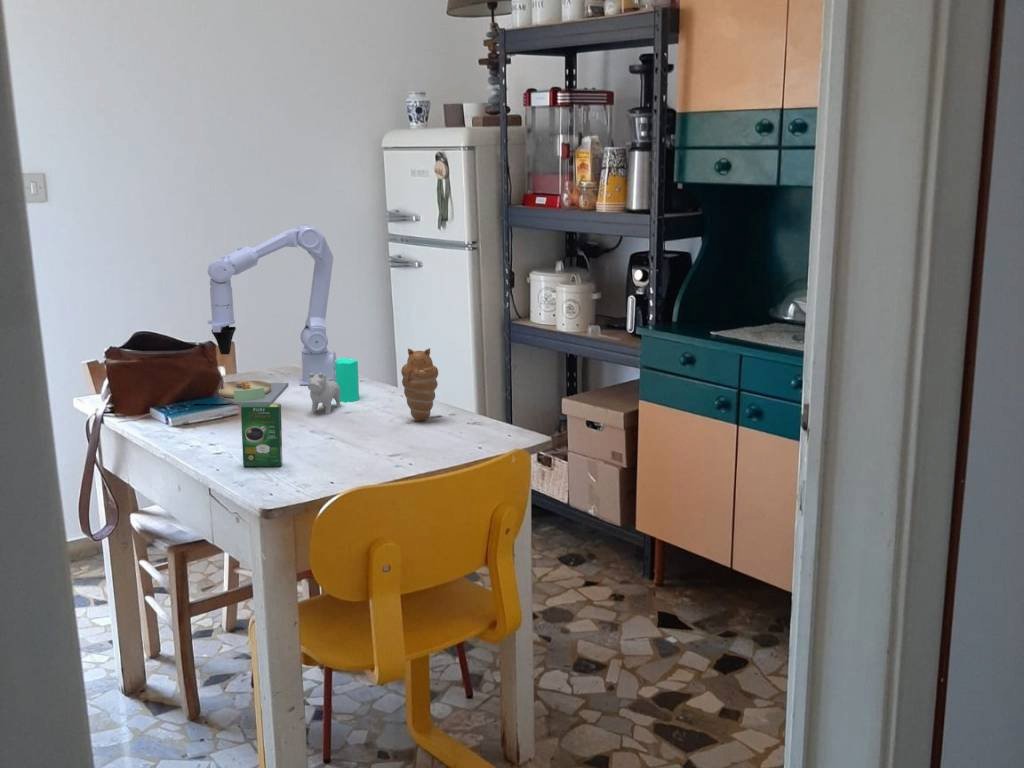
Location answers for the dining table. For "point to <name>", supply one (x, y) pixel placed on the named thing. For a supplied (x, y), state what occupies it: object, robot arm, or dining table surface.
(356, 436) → the dining table surface
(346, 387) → the candle
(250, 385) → the dial
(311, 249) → the robot arm
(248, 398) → the pale green block
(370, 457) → the dining table surface
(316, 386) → the dog figurine
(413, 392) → the cat ice cream
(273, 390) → the grey flat square board
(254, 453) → the coffee box
